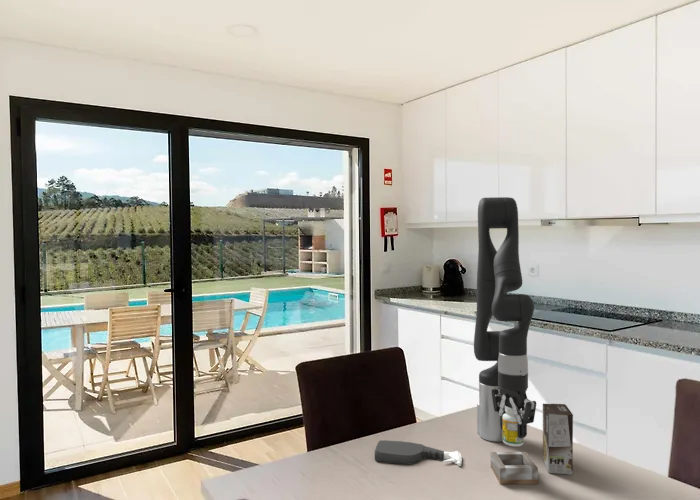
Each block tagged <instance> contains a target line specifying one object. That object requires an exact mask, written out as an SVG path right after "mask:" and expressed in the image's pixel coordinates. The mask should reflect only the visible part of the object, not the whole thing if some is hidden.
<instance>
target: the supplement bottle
mask: <svg viewBox="0 0 700 500" xmlns="http://www.w3.org/2000/svg"><path fill="white" fill-rule="evenodd" d="M521 410H522V409H519V410H518V411H521ZM505 412H506V413H504V414H503V417H502V419H503V441H502V442H503V443H504V444H505V445H507V446H509V447H522V446H523V445H524V443H525V439H524V438H525V437H524V438H519V437H518V420H517V416H516V415H515V414H514V411H513V408H510V407H508V406H505ZM521 417H522V414H521ZM522 419H523V417H522Z"/></svg>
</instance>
